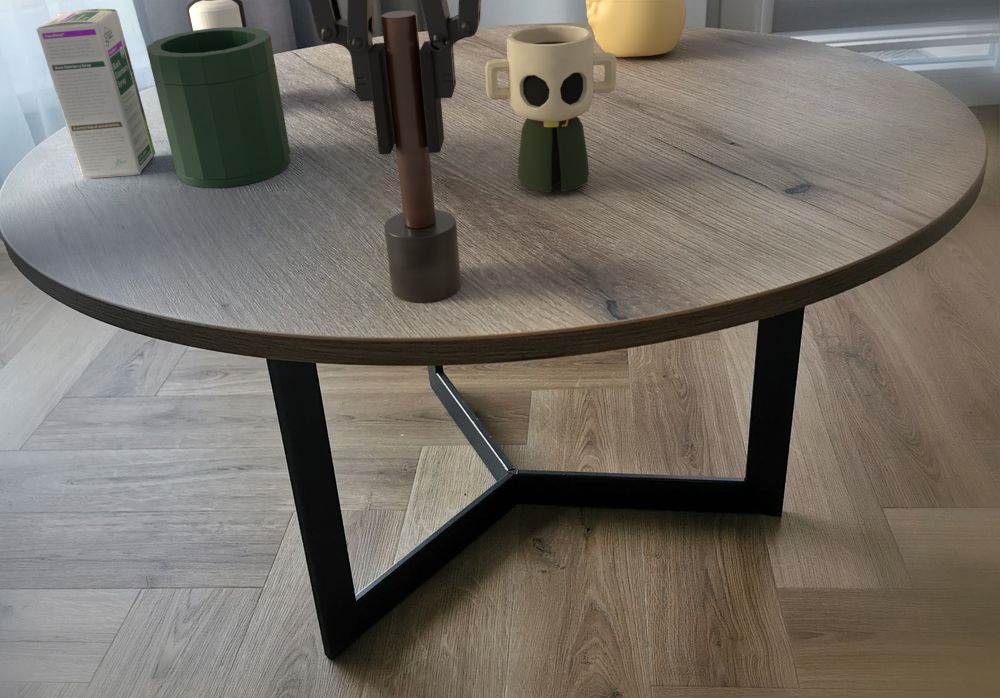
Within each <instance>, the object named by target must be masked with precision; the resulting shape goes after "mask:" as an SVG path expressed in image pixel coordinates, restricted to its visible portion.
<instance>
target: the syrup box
mask: <svg viewBox="0 0 1000 698" xmlns="http://www.w3.org/2000/svg"><path fill="white" fill-rule="evenodd" d="M35 30H36V32H37V35H38V39H39V41H40V45H41V48H42V52H43V54H44V58H45V61H46V65H47V68H48V71H49V74H50V78H51V80H52V84H53V87H54V90H55V93H56V96H57V100H58V104H59V107H60V109H61V112H62V117H63V120H64V122H65V124H66V125H65V126H66V129H67V132H68V136H69V138H70V141H71V145H72V148H73V152H74V154H75V157H76V160H77V163H78V167H79V170H80V174H81V176H82V177H83V178H85V179H86V178H87V179H89V178H90V179H91V178H92V179H94V178H96V179H97V178H98V179H99V178H100V179H101V178H112V177H113V178H115V177H125V176H127V177H128V176H135V175H137V176H138V175H140V174H142V170H143V169H145V167H146V166H147V165H148V164H149V162H150V161H151V160H152V158H153V157H154V156H155V154H156V150H155V147H154V143H153V139H152V136H151V133H150V128H149V125H148V121H147V117H146V113H145V110H144V105H143V102H142V97H141V95H140V91H139V87H138V84H137V80H136V76H135V72H134V68H133V65H132V61H131V57H130V54H129V50H128V46H127V43H126V39H125V36H124V32H123V28H122V24H121V21H120V18H119V14H118V11H117V10H116V9H113V8H89V9H81V10H80V9H79V10H73V11H67V12H61V13H60V12H59V13H57V14H56V16H55V17H53V18H52V19H50V20H48V21H47V22H45V23H44V24H41V25H39V26H38V27H37V28H36V29H35Z"/></svg>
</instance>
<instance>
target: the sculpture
mask: <svg viewBox="0 0 1000 698" xmlns="http://www.w3.org/2000/svg"><path fill="white" fill-rule="evenodd" d="M585 5H586V17H587V19H588V25H589V26H590V27H591V30H592V32H593V37H594V40H595V42H596V43H597V45H598V46H599V47H600V49H601V50H602V51H603V53H613V54H615V57H616V58H630V57H631V58H632V57H648V56H650V57H651V56H657V55H663V54H667V53H669V52H670V51H673V49H674V48H675V47H676V46H677V44H678V43H679V40H680V38H681V36H682V34H683V31H684V28H685V23H686V15H687V12H686V10H687V9H686V8H687V7H686V2H685V0H585Z"/></svg>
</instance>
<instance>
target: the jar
mask: <svg viewBox="0 0 1000 698" xmlns="http://www.w3.org/2000/svg"><path fill="white" fill-rule="evenodd" d="M272 43H273V42H272V38H271V35H270V33H269V32H268V31H267V30H263V29H261V28H257V27H247V28H245V27H225V28H210V29H202V30H194V31H191V30H190V31H185V32H181V33H175V34H172V35H168V36H165V37H163V38H160V39H157V40H154V41H153V42H152V43H150V44H149V45H147V46H146V50H147V55H148V61H149V65H150V68H151V72H152V76H153V80H154V84H155V89H156V93H157V98H158V102H159V107H160V110H161V114H162V118H163V123H164V127H165V131H166V135H167V139H168V142H169V148H170V152H171V156H172V160H173V161H172V162H173V165H174V168H175V172H176V176H177V178H178V180H179V181H180V182H182V183H183V184H186V185H188V186H191V185H192V187H196V186H197V187H196V188H205V187H206V189H207V188H209V189H220V188H222V189H223V188H233V187H239V186H244V185H250V184H255V183H258V182H261V181H265V180H267V179H270V178H272V177H275V176H277V175H278V174H281V173H282V172H283V171H285V170H286V169H288V167H289V166H290V164H291V161H292V159H291V149H290V143H289V137H288V131H287V124H286V120H285V114H284V113H285V112H284V107H283V102H282V97H281V96H282V95H281V90H280V84H279V78H278V72H277V67H276V62H275V56H274V49H273V44H272Z"/></svg>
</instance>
